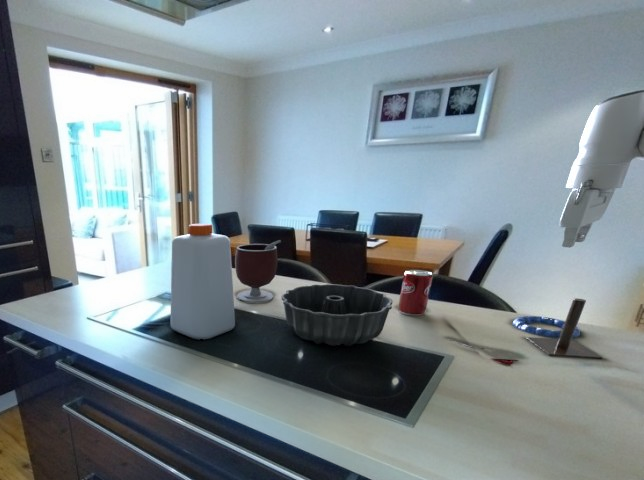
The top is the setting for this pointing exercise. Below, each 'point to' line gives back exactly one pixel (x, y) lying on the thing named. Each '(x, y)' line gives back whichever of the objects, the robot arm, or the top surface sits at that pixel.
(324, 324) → the bundt pan
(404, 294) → the soda can
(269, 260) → the mate gourd
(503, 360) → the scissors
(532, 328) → the bracelet
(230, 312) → the plastic bottle
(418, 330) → the top surface
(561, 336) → the peg stand
